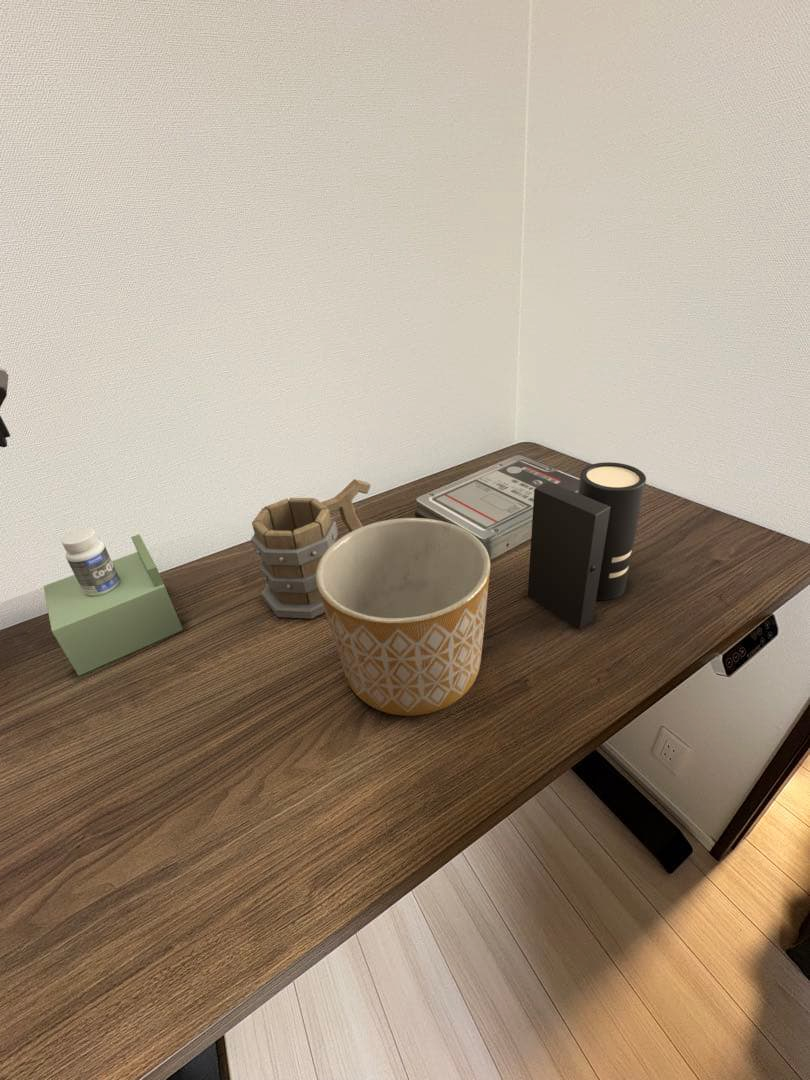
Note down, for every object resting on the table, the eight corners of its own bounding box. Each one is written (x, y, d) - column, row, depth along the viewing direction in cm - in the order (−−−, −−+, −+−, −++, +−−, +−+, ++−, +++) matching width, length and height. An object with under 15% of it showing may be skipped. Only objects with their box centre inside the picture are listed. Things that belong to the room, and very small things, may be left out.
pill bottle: (107, 597, 72) (81, 546, 67) (76, 596, 72) (49, 545, 68) (127, 576, 75) (104, 526, 71) (98, 575, 76) (73, 525, 72)
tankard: (289, 631, 75) (265, 544, 67) (254, 589, 84) (229, 507, 76) (402, 574, 84) (394, 490, 76) (360, 541, 93) (348, 464, 85)
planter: (309, 665, 69) (283, 563, 60) (419, 597, 79) (411, 501, 70) (403, 762, 57) (388, 651, 47) (521, 667, 66) (527, 560, 57)
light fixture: (641, 586, 77) (665, 477, 67) (581, 630, 71) (597, 516, 61) (586, 558, 84) (600, 454, 74) (526, 595, 78) (532, 487, 68)
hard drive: (415, 520, 98) (413, 499, 95) (518, 473, 110) (519, 453, 108) (484, 563, 85) (484, 540, 82) (592, 505, 97) (595, 483, 95)
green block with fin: (78, 676, 71) (40, 613, 65) (68, 628, 80) (33, 568, 73) (183, 629, 77) (157, 568, 71) (162, 590, 86) (138, 532, 80)
